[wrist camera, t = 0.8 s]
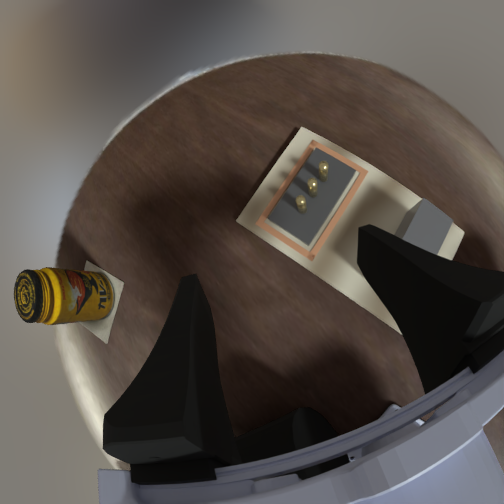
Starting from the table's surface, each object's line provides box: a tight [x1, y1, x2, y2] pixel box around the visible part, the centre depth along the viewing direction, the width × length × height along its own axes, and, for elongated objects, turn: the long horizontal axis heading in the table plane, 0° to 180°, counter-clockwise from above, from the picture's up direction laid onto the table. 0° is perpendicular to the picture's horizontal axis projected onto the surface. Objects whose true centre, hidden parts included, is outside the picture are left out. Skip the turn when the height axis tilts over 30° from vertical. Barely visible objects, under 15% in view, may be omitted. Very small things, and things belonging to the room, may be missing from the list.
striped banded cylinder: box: [235, 408, 350, 480], centre depth 22 cm, size 10×34×10 cm, turn 123°
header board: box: [236, 127, 465, 335], centre depth 23 cm, size 20×12×5 cm, turn 55°
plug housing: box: [394, 198, 453, 255], centre depth 21 cm, size 3×8×5 cm, turn 145°
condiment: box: [14, 261, 124, 344], centre depth 26 cm, size 7×8×12 cm
